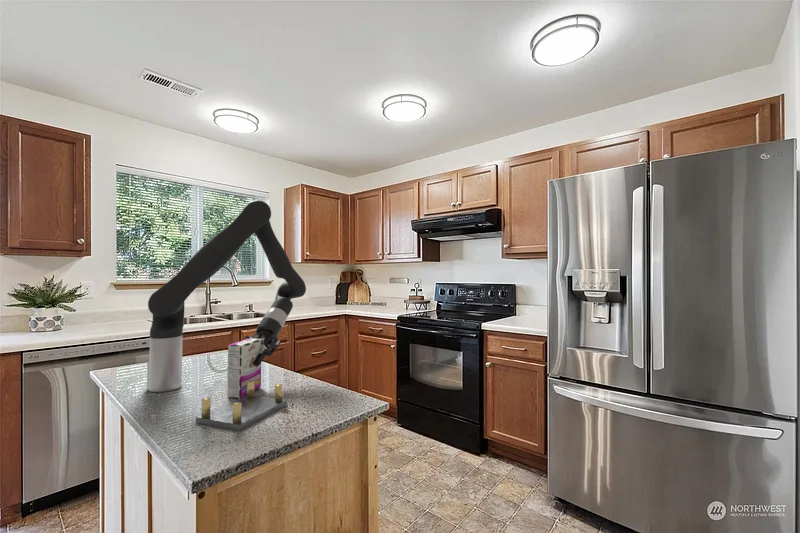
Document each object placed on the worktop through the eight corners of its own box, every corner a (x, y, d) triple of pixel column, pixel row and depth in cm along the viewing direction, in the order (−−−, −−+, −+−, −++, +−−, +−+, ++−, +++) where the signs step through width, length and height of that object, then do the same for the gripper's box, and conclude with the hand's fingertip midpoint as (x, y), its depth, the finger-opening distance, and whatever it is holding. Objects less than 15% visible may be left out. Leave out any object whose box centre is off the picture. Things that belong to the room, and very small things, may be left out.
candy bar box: (247, 386, 122) (249, 337, 122) (261, 387, 121) (262, 338, 121) (225, 397, 111) (227, 344, 112) (239, 399, 110) (241, 345, 110)
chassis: (195, 423, 92) (196, 399, 92) (248, 399, 110) (248, 379, 110) (239, 431, 88) (239, 406, 88) (286, 405, 105) (287, 384, 105)
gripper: (251, 315, 129) (224, 356, 118) (284, 317, 125) (260, 360, 113) (261, 328, 134) (236, 368, 123) (293, 330, 130) (271, 372, 118)
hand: (248, 364), depth 118 cm, fingers closed on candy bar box, 5 cm apart
